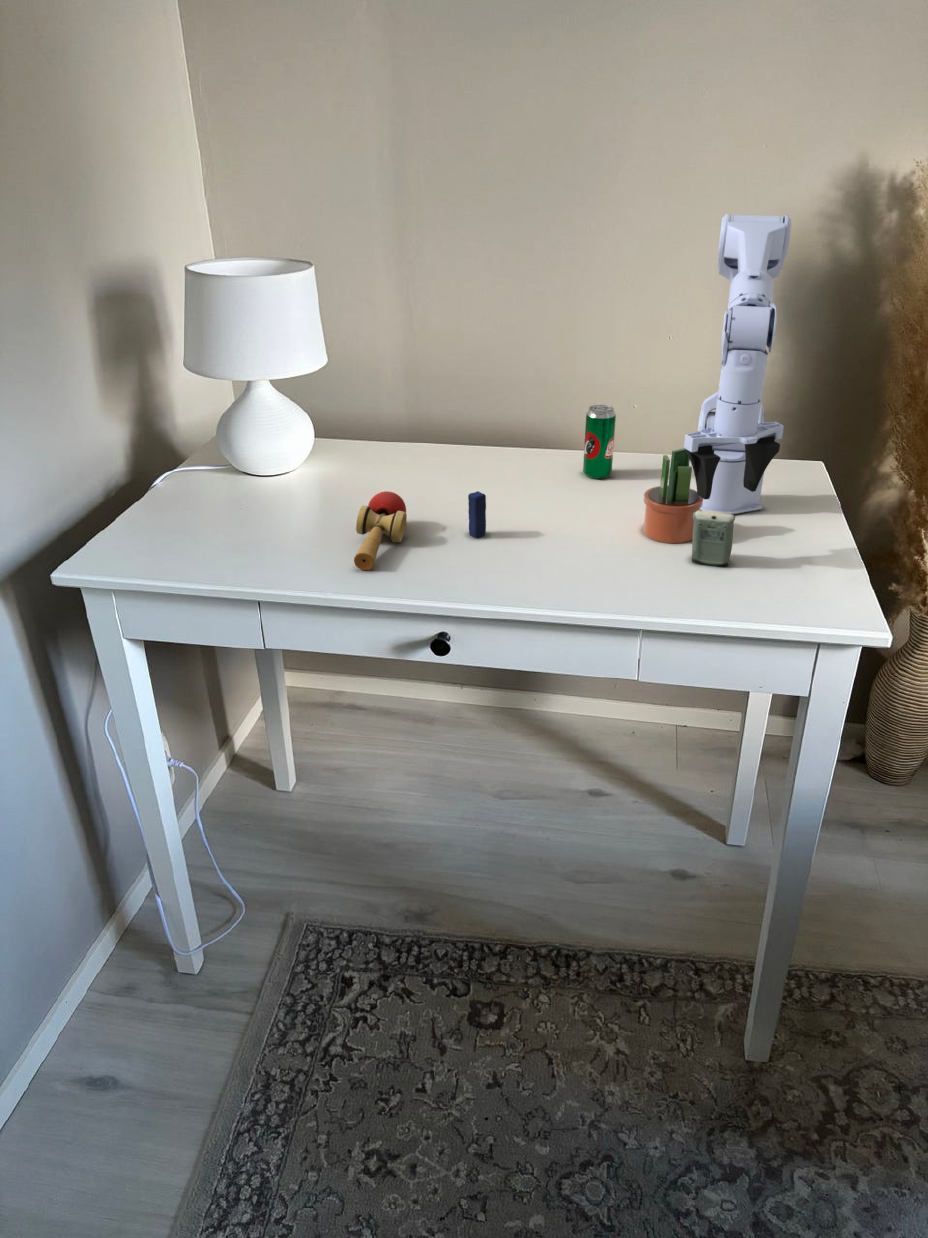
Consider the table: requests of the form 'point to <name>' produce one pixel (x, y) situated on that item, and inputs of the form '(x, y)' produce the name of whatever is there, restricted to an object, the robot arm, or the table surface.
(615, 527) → the table surface
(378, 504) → the kendama
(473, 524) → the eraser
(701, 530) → the pale green rounded block
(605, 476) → the soda can
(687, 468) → the plant
